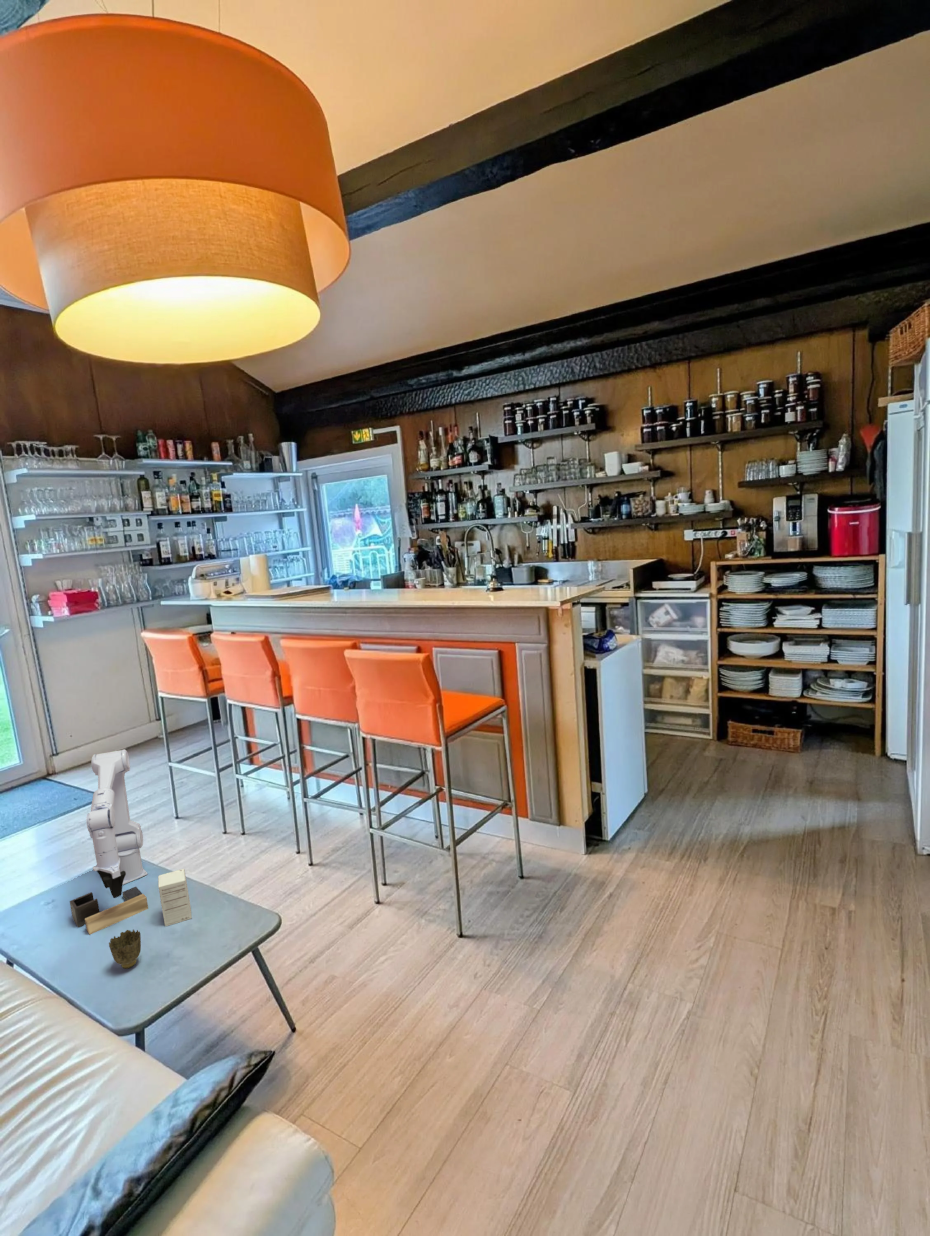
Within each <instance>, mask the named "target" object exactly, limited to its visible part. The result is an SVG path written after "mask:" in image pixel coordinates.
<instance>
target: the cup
mask: <svg viewBox="0 0 930 1236" xmlns="http://www.w3.org/2000/svg"><path fill="white" fill-rule="evenodd" d="M141 938H142V937H141V932H140V931H139V930H138V929H137V930H136V931H135V929H132V930H129V929H126V930H125V931H121V932H120V933H119V936H117V937H116V936H115V935H114V936H113V937H111V938H110V941H109V942H108V947H109V950H110V952H111V953H110V954H111V956H112V958H113V960H114V961H115V963H117V964H118V965H120V967H121V968H122V969H124V970H128V969H132V968H133V967H134V966H136V964H137V959H138V957H139V956H140V954H141V952H142V951H141V949H142V942H141V941H142V940H141Z"/></svg>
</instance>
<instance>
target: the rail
mask: <svg viewBox="0 0 930 1236" xmlns="http://www.w3.org/2000/svg"><path fill="white" fill-rule="evenodd" d="M148 909H149V904H148V899H147V896H146V895H145V894H144V893H142V894H141V895H139V896H137V897H134V898H132V899H130V900H127V901H125V900H124V901H123V902H120V903H118V904H116V905H113V906H111V907H108V908H106V909H104V910H102V911H100V912H99V913H97V914H95V915H92V916H90V917H88V918H85V923H86V925H85V928H86V931H87V933H88V935H90V936H91V935H93V934H94V933H98V932H100V931H102V930H104V929H105V928H108V927H110V926H114V925H115V924H117V923H119V922H123V921H124V920H127V919H128V918H130V917H133V916H135V915H138V914H140V913H142V912H144V911H146V910H148Z"/></svg>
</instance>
